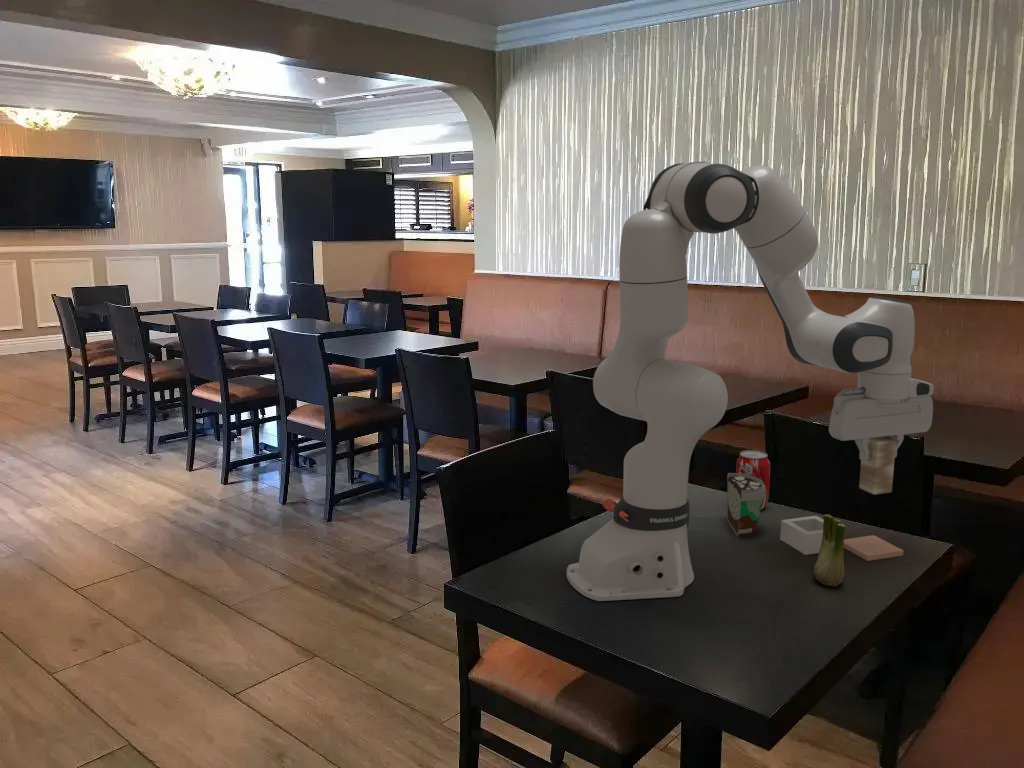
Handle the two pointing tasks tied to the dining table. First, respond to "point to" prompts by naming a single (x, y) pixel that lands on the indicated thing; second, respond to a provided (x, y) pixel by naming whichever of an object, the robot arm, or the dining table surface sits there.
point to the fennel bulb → (831, 553)
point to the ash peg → (878, 466)
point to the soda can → (755, 469)
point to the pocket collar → (803, 533)
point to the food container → (744, 503)
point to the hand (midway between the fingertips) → (877, 458)
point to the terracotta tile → (872, 548)
